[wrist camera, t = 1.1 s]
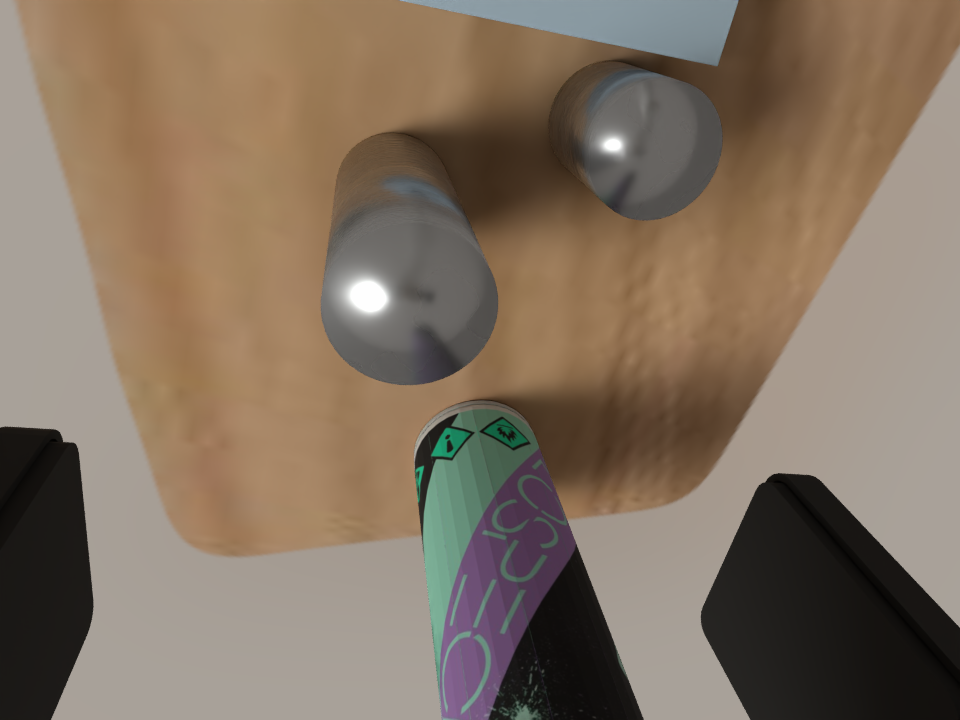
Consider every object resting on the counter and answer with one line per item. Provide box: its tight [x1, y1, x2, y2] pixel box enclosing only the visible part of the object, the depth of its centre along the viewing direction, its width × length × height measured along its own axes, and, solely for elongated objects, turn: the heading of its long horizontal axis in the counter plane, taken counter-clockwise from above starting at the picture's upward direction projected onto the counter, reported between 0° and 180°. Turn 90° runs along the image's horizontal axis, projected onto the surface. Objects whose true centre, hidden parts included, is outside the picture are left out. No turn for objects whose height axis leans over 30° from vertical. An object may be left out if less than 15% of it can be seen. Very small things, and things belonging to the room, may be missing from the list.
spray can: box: [414, 400, 644, 720], centre depth 21 cm, size 6×6×20 cm
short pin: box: [548, 61, 723, 220], centre depth 22 cm, size 4×4×5 cm
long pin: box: [321, 133, 498, 385], centre depth 20 cm, size 4×4×10 cm
